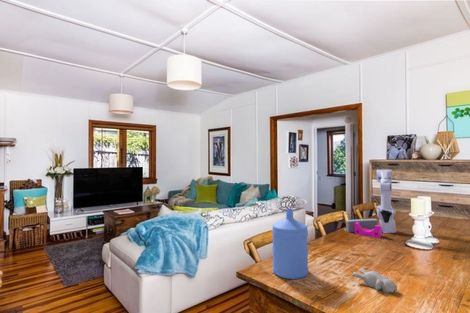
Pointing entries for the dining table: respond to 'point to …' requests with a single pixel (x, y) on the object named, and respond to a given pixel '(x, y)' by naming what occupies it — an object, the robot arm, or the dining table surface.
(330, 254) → the dining table surface
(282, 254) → the water jug
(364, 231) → the toy block
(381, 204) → the robot arm
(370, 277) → the bunny figurine
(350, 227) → the backstop wall
